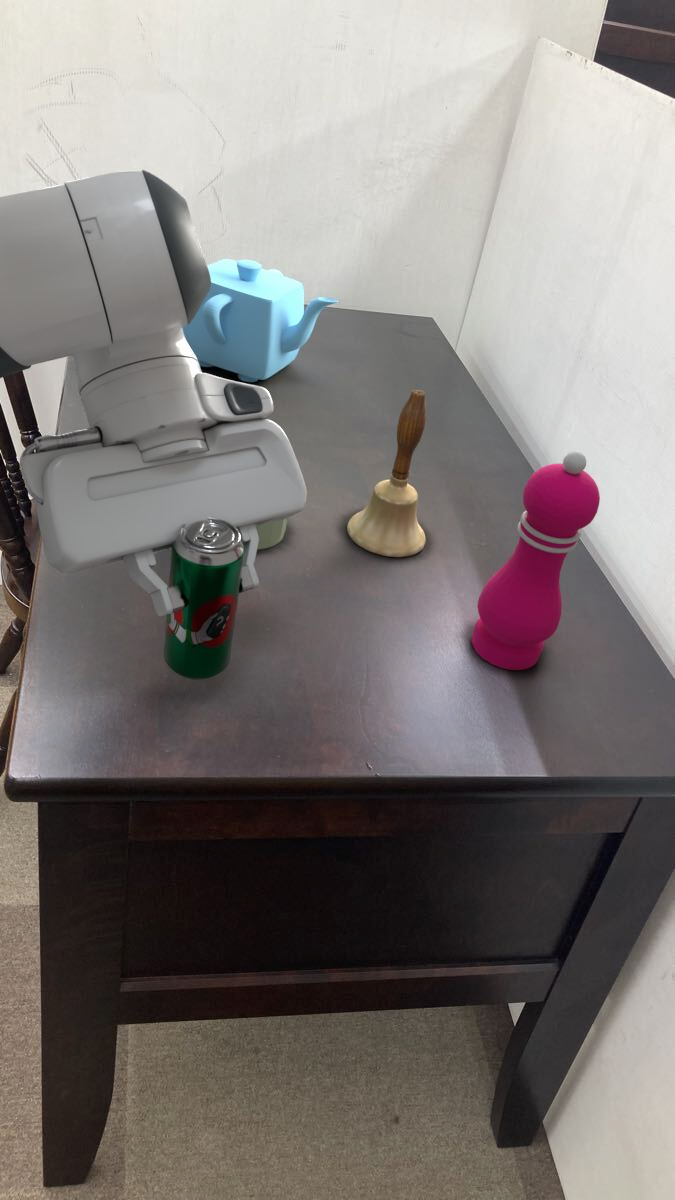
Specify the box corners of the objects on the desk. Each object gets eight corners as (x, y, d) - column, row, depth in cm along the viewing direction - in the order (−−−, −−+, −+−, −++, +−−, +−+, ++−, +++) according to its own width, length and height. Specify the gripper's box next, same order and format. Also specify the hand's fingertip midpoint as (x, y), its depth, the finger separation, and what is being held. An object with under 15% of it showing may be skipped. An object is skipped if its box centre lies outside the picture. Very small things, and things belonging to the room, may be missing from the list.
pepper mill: (550, 680, 78) (634, 483, 66) (470, 668, 78) (541, 467, 66) (536, 628, 84) (611, 439, 72) (461, 617, 83) (526, 424, 72)
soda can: (239, 653, 71) (257, 527, 64) (211, 692, 67) (227, 563, 60) (181, 632, 72) (193, 505, 64) (151, 669, 68) (159, 539, 60)
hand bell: (356, 556, 88) (390, 409, 79) (339, 511, 95) (369, 370, 85) (434, 559, 91) (476, 416, 81) (413, 514, 97) (450, 377, 87)
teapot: (184, 387, 112) (193, 280, 104) (166, 334, 124) (173, 235, 116) (322, 393, 118) (341, 292, 110) (292, 343, 130) (307, 249, 122)
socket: (224, 554, 85) (230, 509, 82) (197, 511, 90) (202, 467, 87) (296, 544, 88) (304, 501, 85) (267, 504, 93) (273, 462, 90)
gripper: (24, 425, 56) (92, 636, 56) (286, 387, 68) (341, 561, 68) (-2, 455, 61) (61, 647, 61) (246, 415, 73) (298, 576, 73)
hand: (211, 601), depth 65 cm, fingers closed on soda can, 5 cm apart
